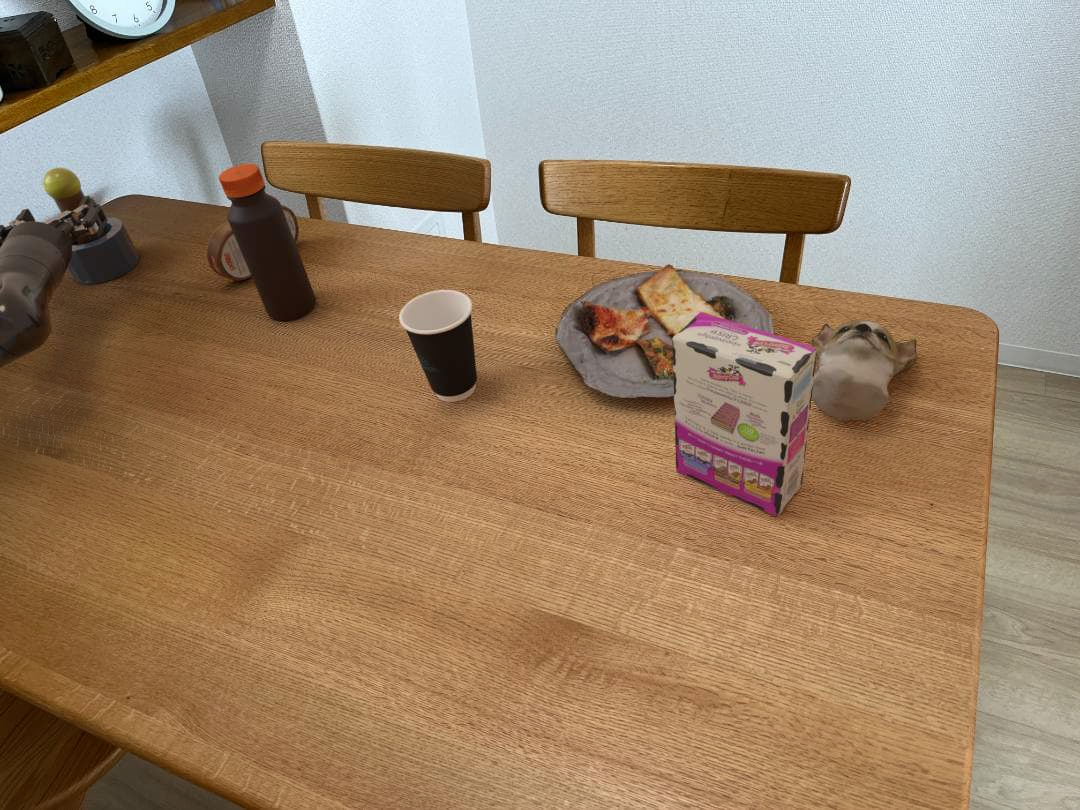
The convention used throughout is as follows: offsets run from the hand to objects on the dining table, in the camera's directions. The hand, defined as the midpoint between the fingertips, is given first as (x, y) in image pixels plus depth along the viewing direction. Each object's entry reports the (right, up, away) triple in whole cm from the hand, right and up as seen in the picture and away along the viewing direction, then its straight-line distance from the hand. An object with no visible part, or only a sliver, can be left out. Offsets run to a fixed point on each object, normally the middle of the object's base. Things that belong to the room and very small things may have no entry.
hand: (59, 208), depth 116 cm
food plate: (+84, -21, -21) cm, 89 cm away
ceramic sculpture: (+102, -27, -31) cm, 110 cm away
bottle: (+35, -15, -5) cm, 38 cm away
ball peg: (+1, -6, +11) cm, 13 cm away
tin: (+28, -7, +5) cm, 29 cm away
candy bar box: (+88, -35, -39) cm, 103 cm away
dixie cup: (+59, -27, -23) cm, 69 cm away
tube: (+1, -6, +12) cm, 13 cm away
